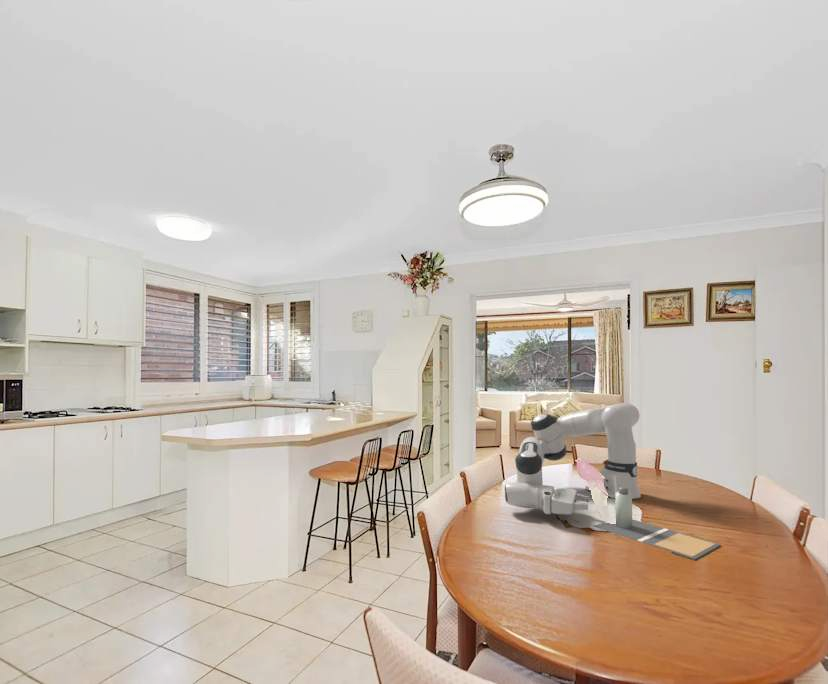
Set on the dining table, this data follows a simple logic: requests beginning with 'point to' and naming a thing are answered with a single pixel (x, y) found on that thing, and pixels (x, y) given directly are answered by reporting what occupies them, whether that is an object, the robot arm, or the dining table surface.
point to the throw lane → (663, 539)
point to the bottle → (623, 508)
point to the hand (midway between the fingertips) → (589, 503)
